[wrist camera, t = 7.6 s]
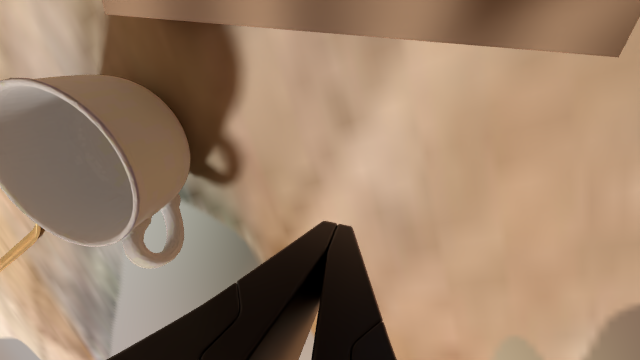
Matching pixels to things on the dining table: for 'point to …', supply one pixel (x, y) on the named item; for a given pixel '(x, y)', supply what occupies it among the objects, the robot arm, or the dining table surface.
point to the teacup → (94, 161)
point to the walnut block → (421, 20)
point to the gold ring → (20, 247)
